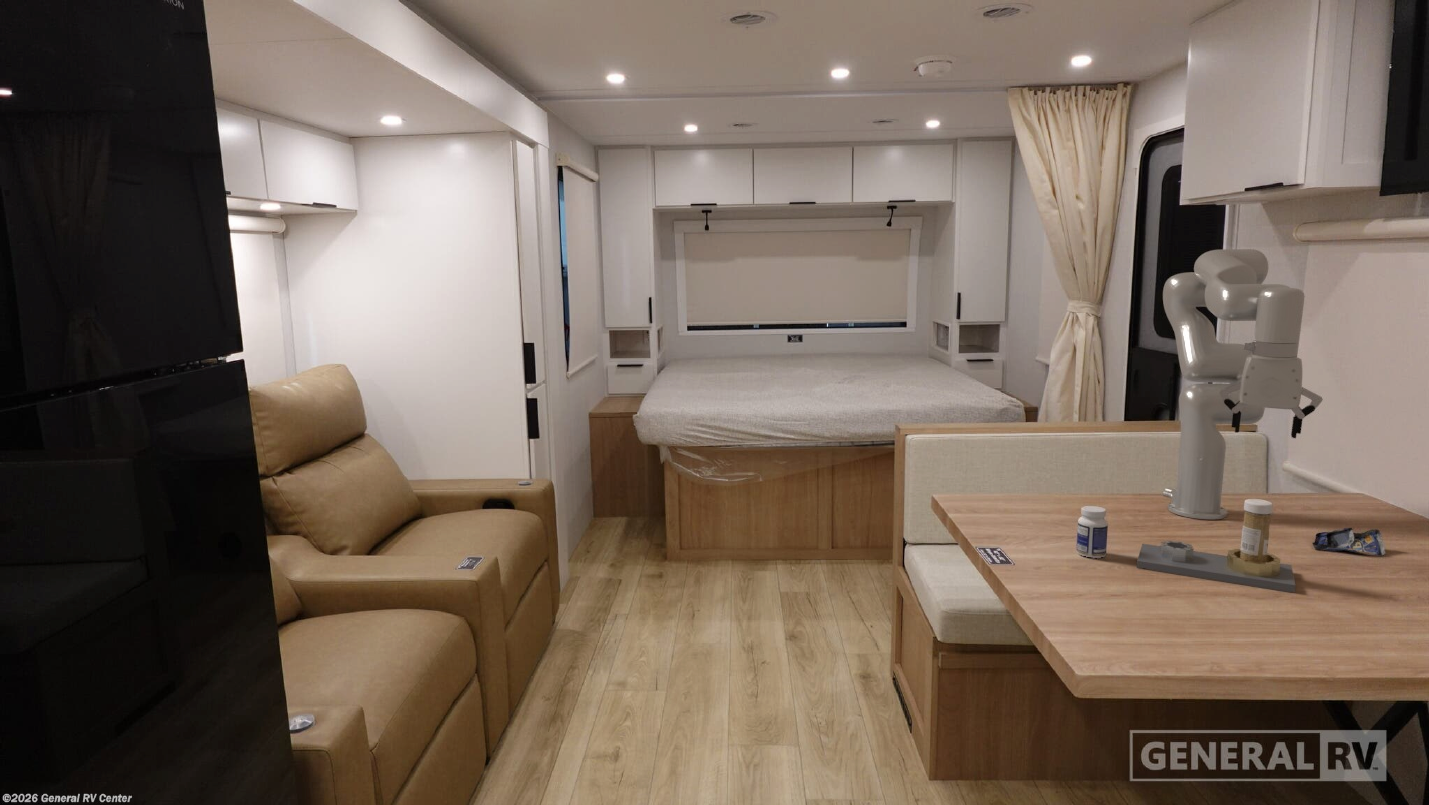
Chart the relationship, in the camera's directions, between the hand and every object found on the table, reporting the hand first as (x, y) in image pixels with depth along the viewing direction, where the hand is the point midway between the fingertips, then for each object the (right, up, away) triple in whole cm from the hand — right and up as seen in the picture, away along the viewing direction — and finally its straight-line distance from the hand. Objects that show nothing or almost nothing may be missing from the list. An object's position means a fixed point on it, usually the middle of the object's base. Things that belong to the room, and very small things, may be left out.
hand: (1264, 433), depth 168 cm
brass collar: (-8, -26, -8) cm, 28 cm away
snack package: (+21, -25, +7) cm, 34 cm away
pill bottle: (-33, -26, +5) cm, 42 cm away
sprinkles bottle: (-8, -26, -8) cm, 28 cm away
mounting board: (-13, -27, -4) cm, 30 cm away
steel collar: (-19, -25, -1) cm, 31 cm away
